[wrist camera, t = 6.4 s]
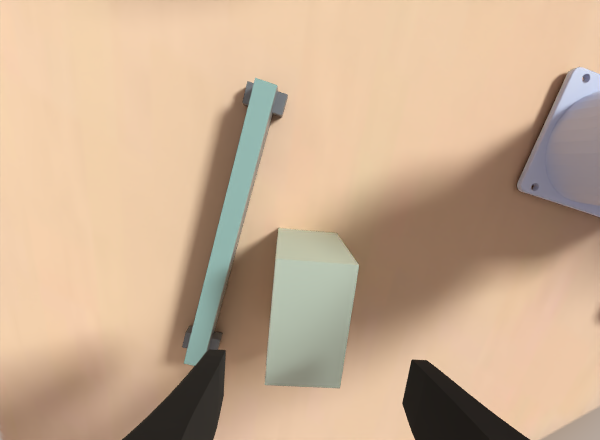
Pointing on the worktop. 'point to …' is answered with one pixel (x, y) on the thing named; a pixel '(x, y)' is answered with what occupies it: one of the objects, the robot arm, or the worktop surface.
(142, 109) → the worktop surface
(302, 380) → the soap box
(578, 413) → the worktop surface
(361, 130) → the worktop surface
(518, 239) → the worktop surface
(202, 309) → the rail
